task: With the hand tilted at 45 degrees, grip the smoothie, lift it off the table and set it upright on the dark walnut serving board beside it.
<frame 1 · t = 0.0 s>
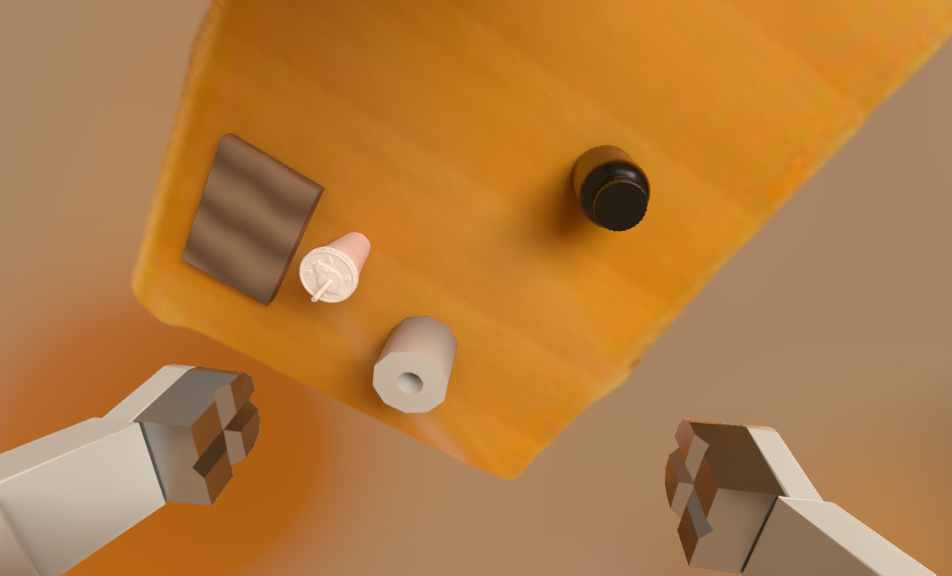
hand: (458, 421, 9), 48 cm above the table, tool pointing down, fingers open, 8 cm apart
toilet tissue: (418, 350, 67), on the table
supplement bottle: (602, 175, 54), on the table
walnut board: (254, 222, 61), on the table
smoothie: (356, 245, 61), on the table
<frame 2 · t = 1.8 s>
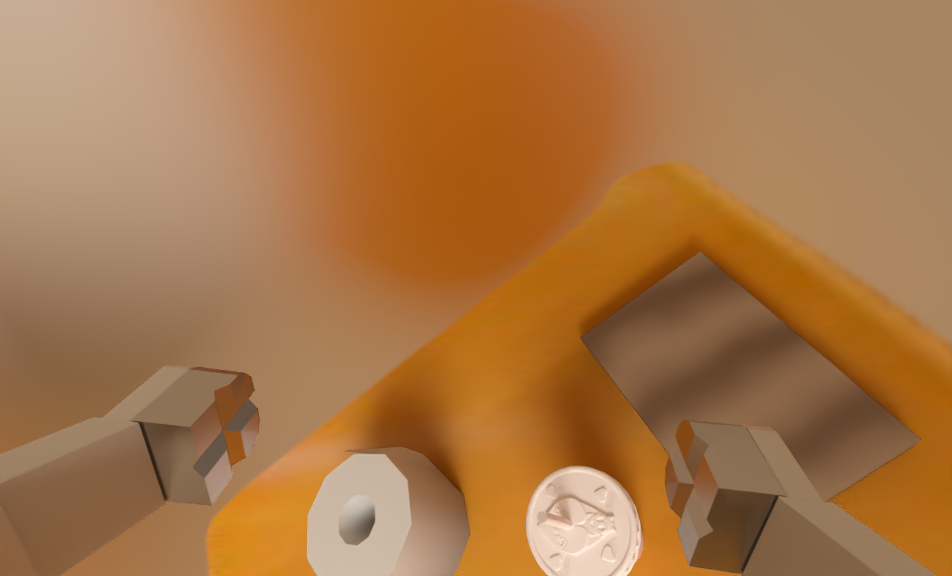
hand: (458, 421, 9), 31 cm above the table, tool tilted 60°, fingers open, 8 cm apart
toilet tissue: (417, 513, 42), on the table
walnut board: (720, 387, 36), on the table
smoothie: (617, 536, 34), on the table
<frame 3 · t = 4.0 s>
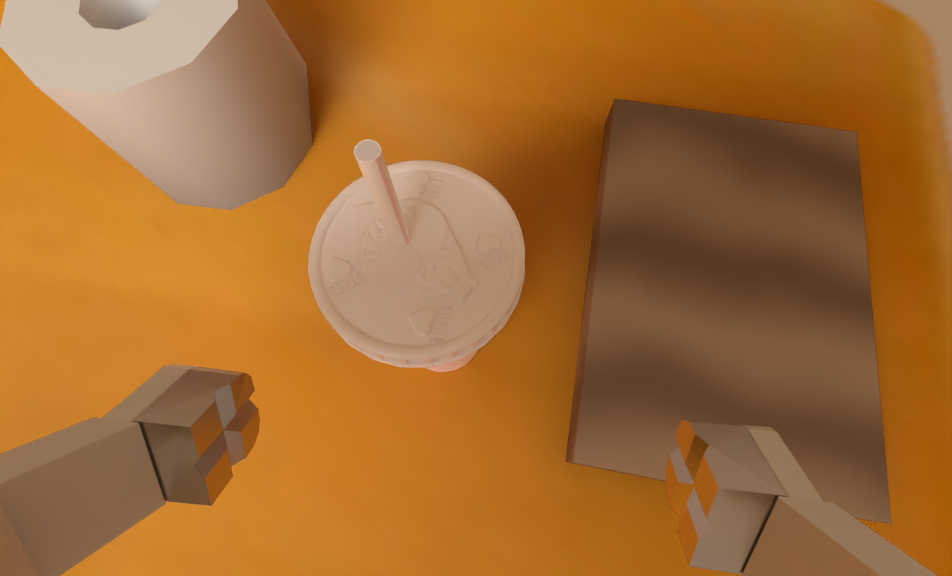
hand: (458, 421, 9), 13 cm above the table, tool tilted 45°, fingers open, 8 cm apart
toilet tissue: (242, 118, 28), on the table
walnut board: (711, 292, 23), on the table
smoothie: (443, 334, 23), on the table
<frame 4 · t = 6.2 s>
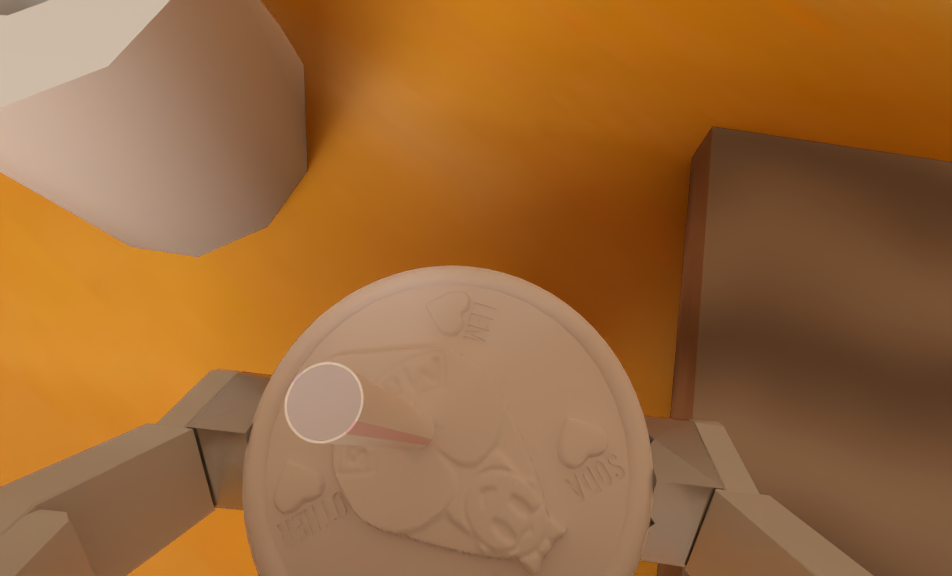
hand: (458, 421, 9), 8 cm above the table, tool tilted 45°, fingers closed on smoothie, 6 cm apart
toilet tissue: (220, 134, 21), on the table
walnut board: (852, 405, 16), on the table
smoothie: (472, 454, 17), on the table, touching gripper
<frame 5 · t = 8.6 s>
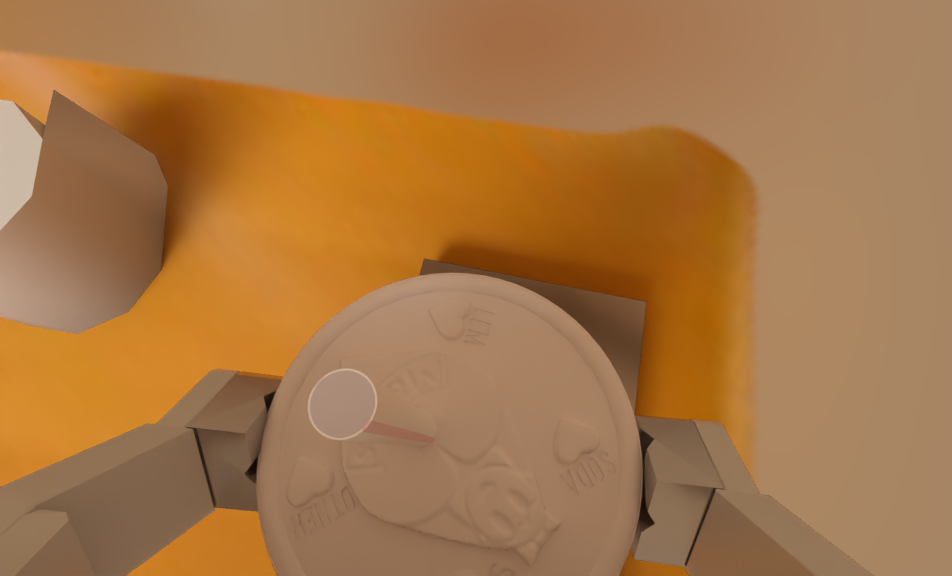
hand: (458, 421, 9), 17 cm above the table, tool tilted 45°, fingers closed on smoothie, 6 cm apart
toilet tissue: (102, 239, 30), on the table
walnut board: (498, 454, 25), on the table
smoothie: (473, 453, 17), point 8 cm above the table, touching gripper
when the fingers open (11 cm above the table, at t = 11.0 s): smoothie stays where it is, resting on walnut board.
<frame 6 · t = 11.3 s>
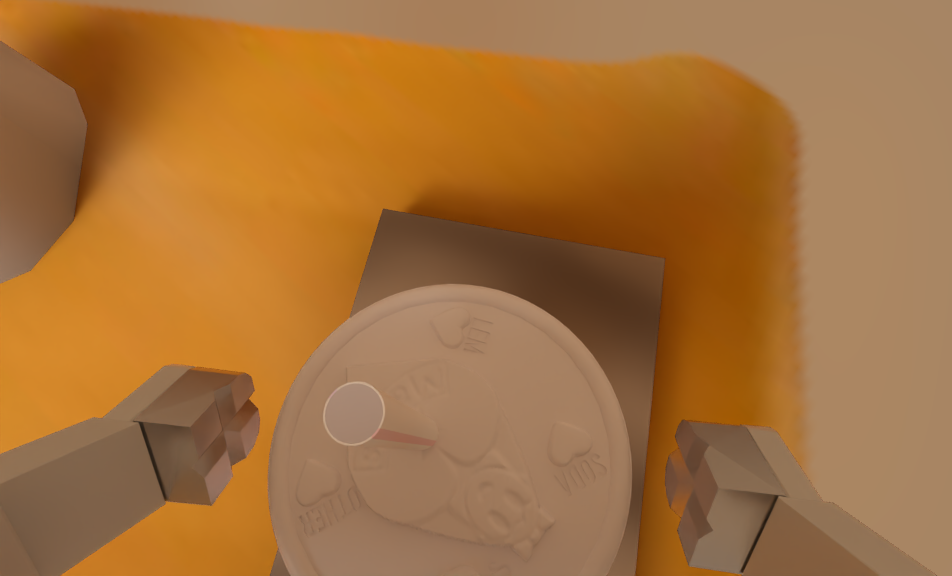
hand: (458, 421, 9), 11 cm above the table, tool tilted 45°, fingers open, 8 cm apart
toilet tissue: (7, 187, 25), on the table
walnut board: (476, 454, 19), on the table
smoothie: (473, 454, 18), point 2 cm above the table, touching walnut board
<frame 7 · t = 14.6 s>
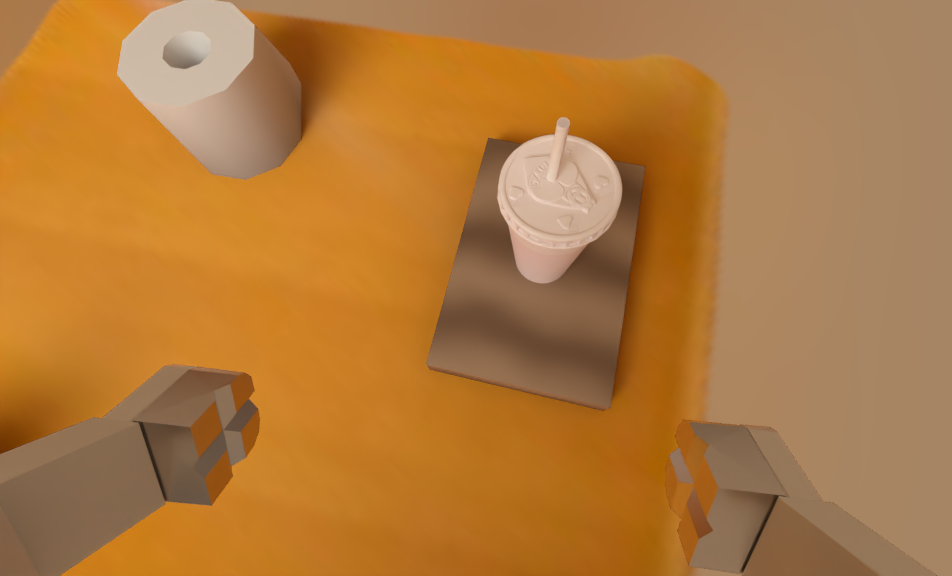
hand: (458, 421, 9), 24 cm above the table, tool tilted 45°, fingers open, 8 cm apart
toilet tissue: (256, 119, 41), on the table
walnut board: (540, 269, 35), on the table
smoothie: (541, 259, 34), point 2 cm above the table, touching walnut board
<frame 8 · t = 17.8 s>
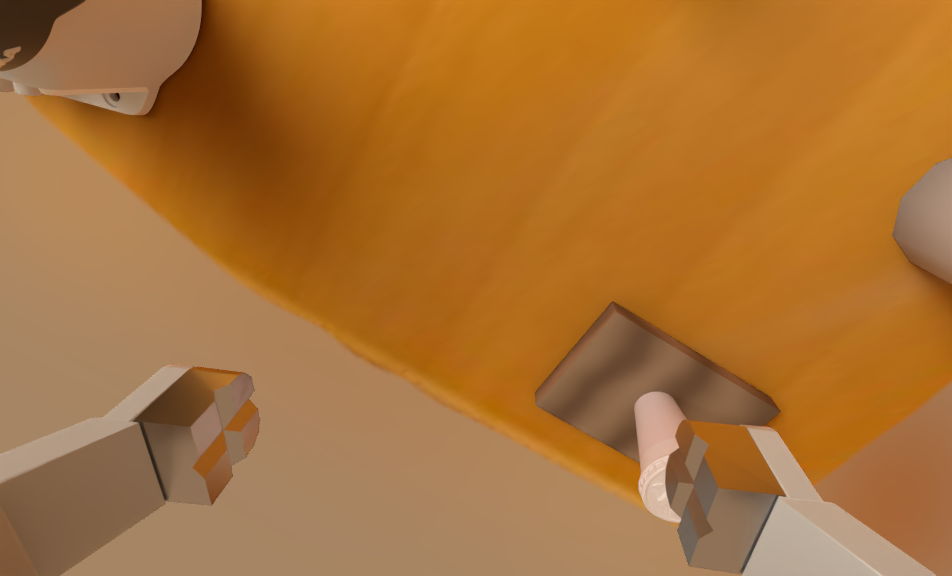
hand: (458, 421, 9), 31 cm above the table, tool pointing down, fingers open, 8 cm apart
walnut board: (649, 394, 46), on the table
smoothie: (654, 406, 44), point 2 cm above the table, touching walnut board
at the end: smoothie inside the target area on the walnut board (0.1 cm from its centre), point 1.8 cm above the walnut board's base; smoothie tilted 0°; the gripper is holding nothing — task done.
